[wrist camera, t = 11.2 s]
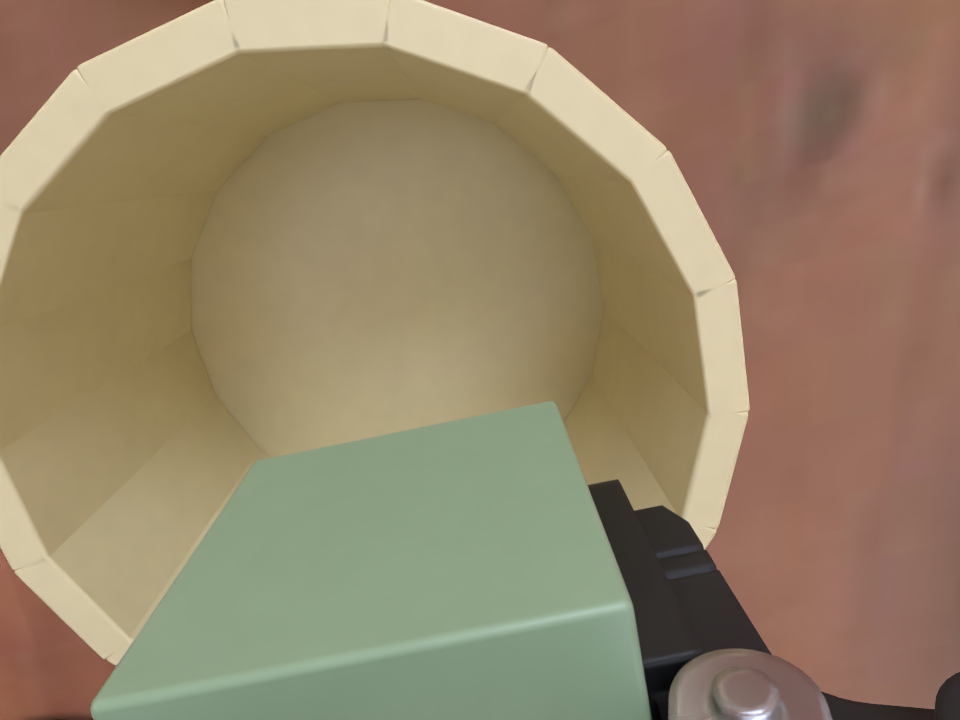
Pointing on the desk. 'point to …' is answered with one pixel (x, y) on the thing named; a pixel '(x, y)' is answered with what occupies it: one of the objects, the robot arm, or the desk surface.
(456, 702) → the block
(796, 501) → the desk surface
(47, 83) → the desk surface
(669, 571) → the robot arm
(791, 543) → the desk surface
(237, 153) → the canister
